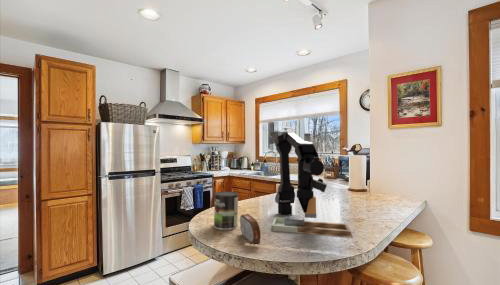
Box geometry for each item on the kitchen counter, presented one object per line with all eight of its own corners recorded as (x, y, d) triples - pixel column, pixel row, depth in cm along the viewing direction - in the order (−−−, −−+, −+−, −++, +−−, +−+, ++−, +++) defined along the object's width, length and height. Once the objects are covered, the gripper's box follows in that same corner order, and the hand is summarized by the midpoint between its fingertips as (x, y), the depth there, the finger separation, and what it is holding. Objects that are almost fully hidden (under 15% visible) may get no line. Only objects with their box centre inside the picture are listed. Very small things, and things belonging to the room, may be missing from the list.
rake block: (304, 217, 95) (304, 197, 95) (304, 214, 99) (304, 195, 99) (316, 218, 94) (315, 197, 94) (315, 214, 98) (315, 195, 98)
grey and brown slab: (261, 246, 80) (261, 221, 80) (252, 248, 79) (252, 222, 79) (246, 232, 94) (246, 211, 94) (238, 233, 93) (238, 211, 93)
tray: (271, 232, 94) (271, 225, 94) (274, 223, 105) (274, 217, 105) (297, 234, 92) (297, 227, 92) (298, 225, 103) (298, 218, 103)
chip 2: (294, 229, 96) (294, 219, 96) (294, 226, 99) (294, 216, 100) (304, 230, 95) (304, 220, 95) (304, 226, 99) (304, 217, 99)
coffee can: (224, 232, 94) (225, 196, 94) (209, 226, 101) (209, 193, 101) (243, 226, 101) (243, 193, 102) (227, 221, 108) (227, 190, 109)
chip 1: (284, 228, 96) (284, 218, 97) (285, 225, 100) (285, 216, 100) (294, 229, 96) (294, 219, 96) (294, 226, 99) (294, 216, 100)
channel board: (296, 234, 92) (296, 228, 92) (297, 225, 103) (297, 219, 103) (352, 239, 87) (352, 232, 87) (346, 229, 99) (346, 223, 99)
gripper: (327, 176, 86) (327, 218, 86) (323, 171, 105) (323, 206, 104) (296, 175, 89) (296, 216, 88) (297, 170, 107) (297, 205, 107)
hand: (305, 211), depth 97 cm, fingers closed on rake block, 4 cm apart
